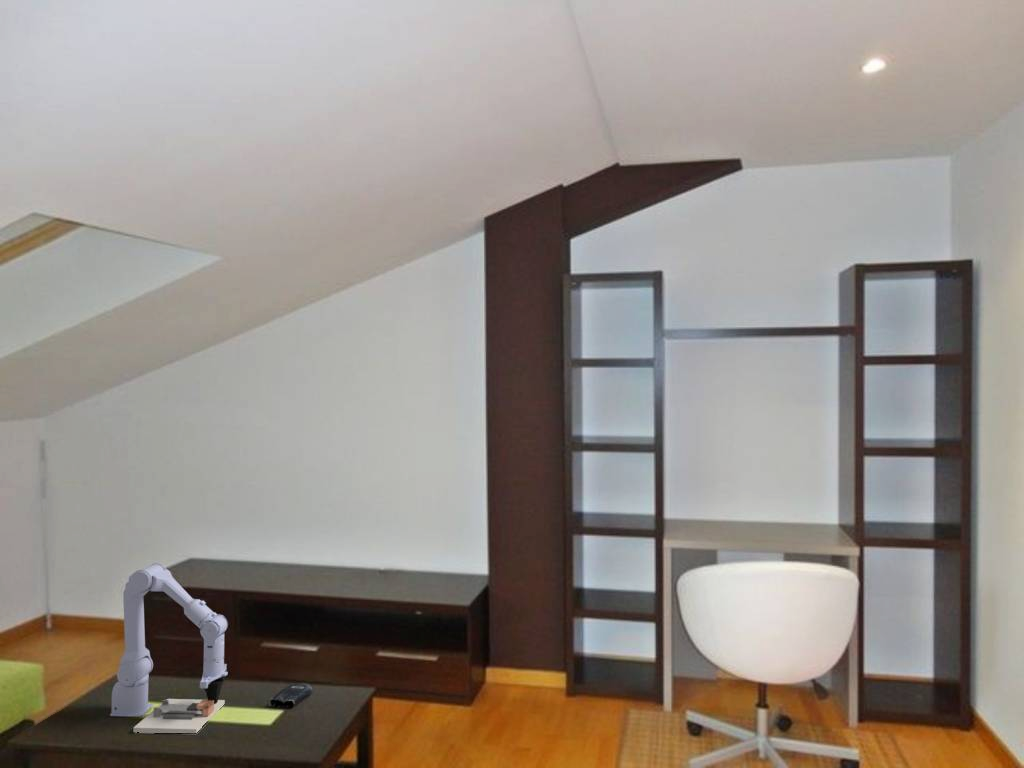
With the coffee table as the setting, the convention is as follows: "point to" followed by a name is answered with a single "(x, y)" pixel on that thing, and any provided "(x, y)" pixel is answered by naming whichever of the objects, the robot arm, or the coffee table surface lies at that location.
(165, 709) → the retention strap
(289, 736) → the coffee table surface
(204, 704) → the block
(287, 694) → the electronic device
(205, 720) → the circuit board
